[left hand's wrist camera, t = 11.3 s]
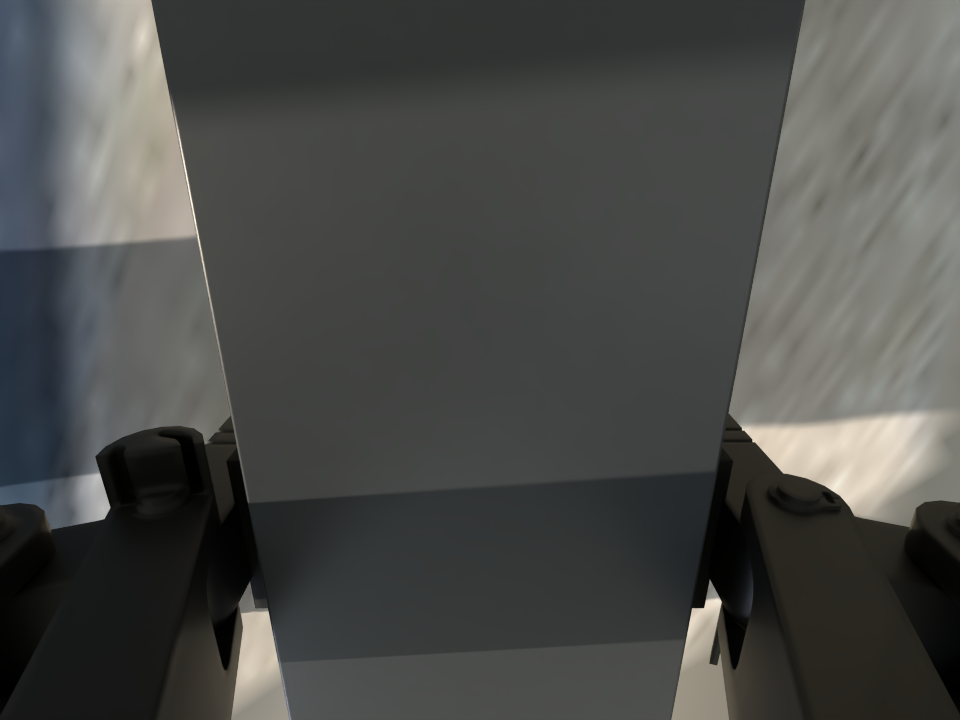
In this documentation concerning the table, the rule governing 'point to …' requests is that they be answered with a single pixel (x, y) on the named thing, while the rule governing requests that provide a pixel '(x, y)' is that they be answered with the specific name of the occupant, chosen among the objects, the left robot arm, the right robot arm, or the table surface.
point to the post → (479, 328)
